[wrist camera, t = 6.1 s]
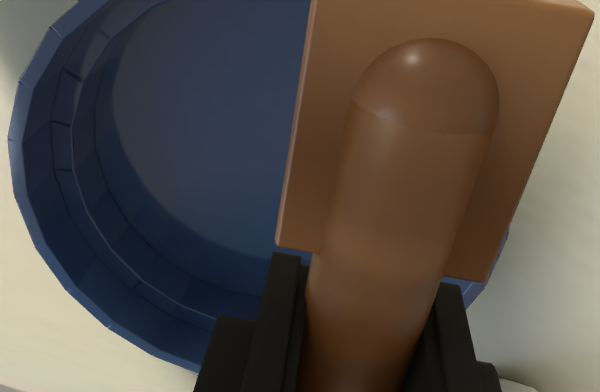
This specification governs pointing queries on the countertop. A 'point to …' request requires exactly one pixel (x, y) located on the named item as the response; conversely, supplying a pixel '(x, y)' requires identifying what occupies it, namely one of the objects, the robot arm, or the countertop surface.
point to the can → (514, 386)
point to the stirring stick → (411, 163)
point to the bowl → (162, 161)
